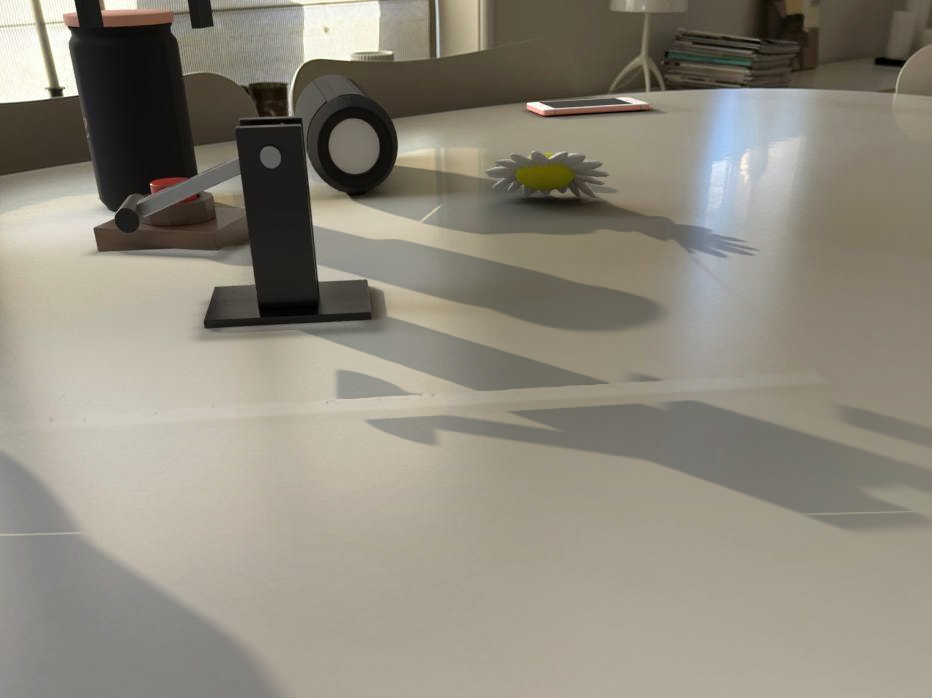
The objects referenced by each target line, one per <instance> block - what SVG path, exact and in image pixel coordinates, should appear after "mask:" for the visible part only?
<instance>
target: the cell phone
mask: <svg viewBox="0 0 932 698" xmlns="http://www.w3.org/2000/svg"><path fill="white" fill-rule="evenodd" d="M649 109H650V103H649V102H646V101H642V100H639V99H636V98H633V97H629V96H623V97H604V98H603V97H602V98H601V97H600V98H587V99H566V100H552V101H551V100H550V101H548V100H547V101H533V102H527V103H526V110H528V111H531V112H533V113H536V114H539V115H540V116H557V115H558V116H559V115H561V116H562V115H576V114H593V113H608V112H609V113H611V112H626V111H627V112H629V111H645V110H649Z"/></svg>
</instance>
